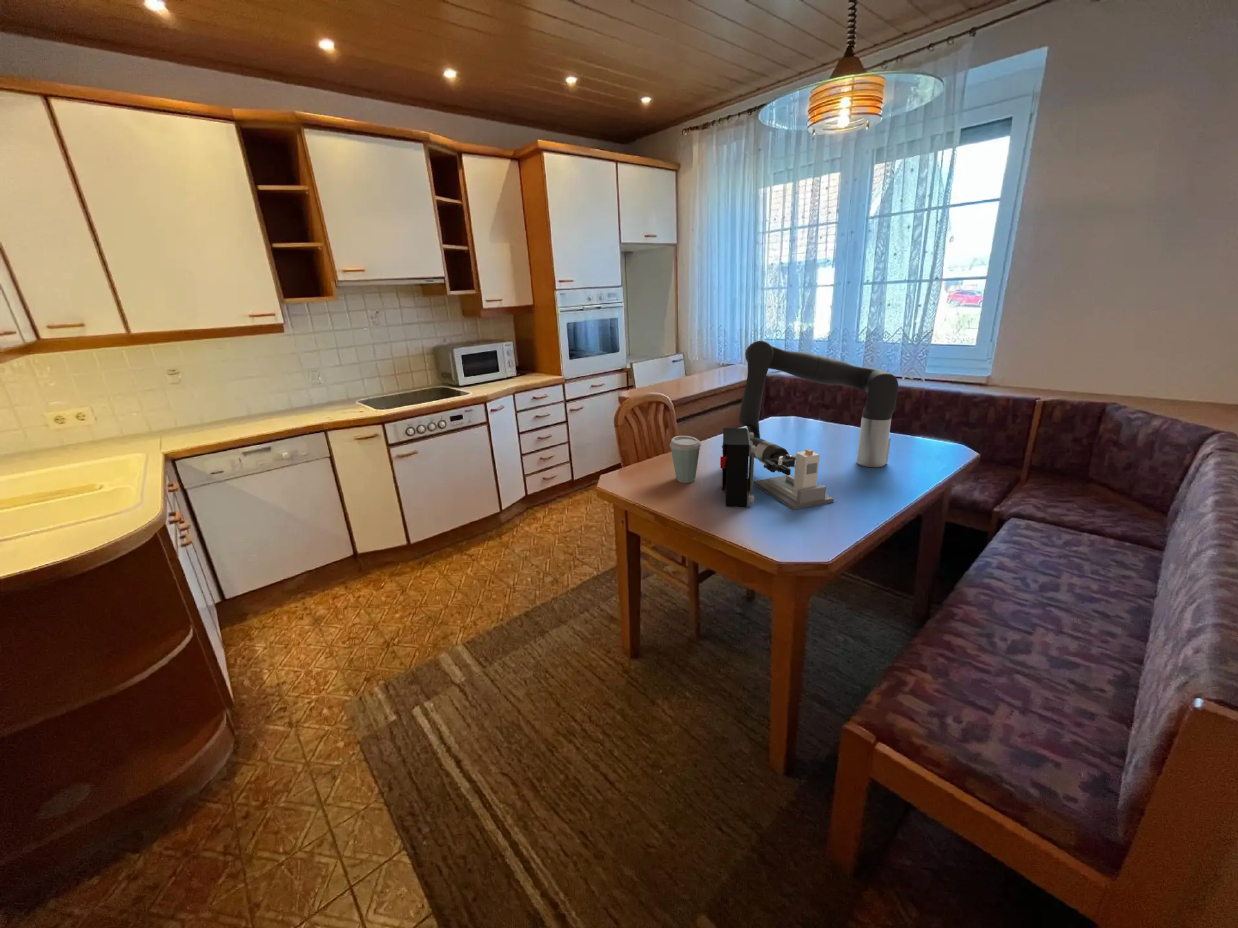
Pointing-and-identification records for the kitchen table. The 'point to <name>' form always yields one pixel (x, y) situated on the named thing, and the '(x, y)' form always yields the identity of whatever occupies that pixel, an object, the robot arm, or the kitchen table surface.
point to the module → (806, 470)
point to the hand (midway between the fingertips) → (801, 470)
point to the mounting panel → (784, 492)
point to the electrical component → (737, 466)
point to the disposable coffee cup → (685, 457)
